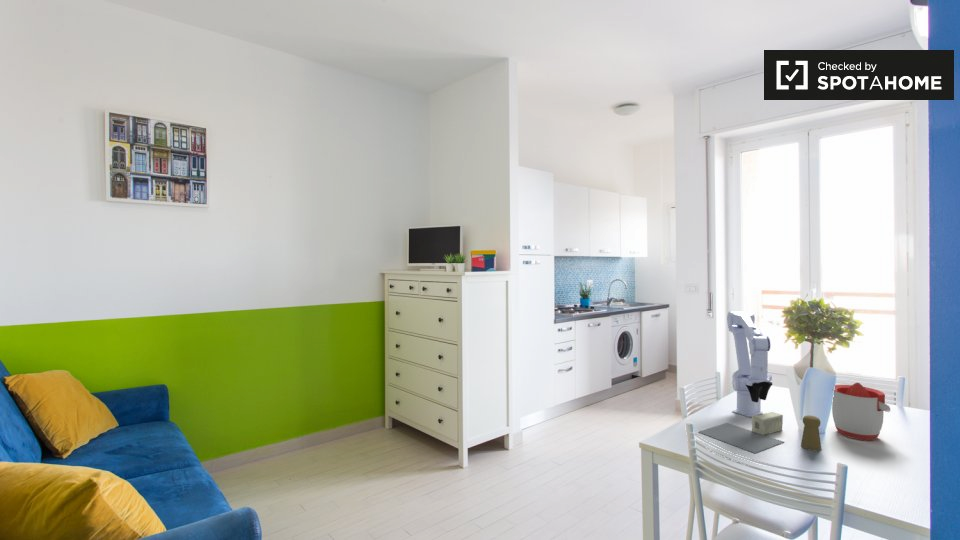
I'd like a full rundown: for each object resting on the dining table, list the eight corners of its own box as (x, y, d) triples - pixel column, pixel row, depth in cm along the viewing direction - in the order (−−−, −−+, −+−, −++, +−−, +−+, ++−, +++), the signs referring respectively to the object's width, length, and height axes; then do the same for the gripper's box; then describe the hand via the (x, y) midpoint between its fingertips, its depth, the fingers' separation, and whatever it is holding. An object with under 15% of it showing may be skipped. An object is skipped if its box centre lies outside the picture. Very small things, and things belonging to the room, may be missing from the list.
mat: (727, 423, 191) (727, 422, 191) (784, 442, 172) (784, 441, 172) (698, 432, 182) (698, 431, 182) (755, 453, 163) (755, 452, 163)
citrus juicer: (880, 448, 165) (881, 392, 164) (823, 432, 180) (824, 381, 179) (897, 438, 174) (898, 385, 173) (841, 424, 188) (842, 374, 187)
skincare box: (751, 431, 182) (771, 427, 187) (762, 435, 178) (782, 430, 183) (752, 415, 181) (771, 411, 187) (763, 418, 177) (783, 414, 183)
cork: (815, 452, 164) (816, 420, 163) (797, 445, 169) (797, 415, 168) (825, 448, 166) (825, 417, 166) (806, 442, 172) (807, 412, 171)
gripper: (758, 371, 179) (758, 406, 180) (779, 366, 187) (779, 400, 187) (740, 367, 185) (740, 401, 186) (761, 362, 193) (761, 395, 193)
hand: (758, 400), depth 187 cm, fingers open, 5 cm apart
